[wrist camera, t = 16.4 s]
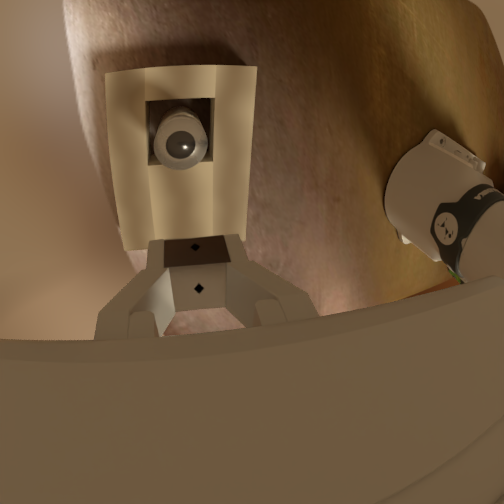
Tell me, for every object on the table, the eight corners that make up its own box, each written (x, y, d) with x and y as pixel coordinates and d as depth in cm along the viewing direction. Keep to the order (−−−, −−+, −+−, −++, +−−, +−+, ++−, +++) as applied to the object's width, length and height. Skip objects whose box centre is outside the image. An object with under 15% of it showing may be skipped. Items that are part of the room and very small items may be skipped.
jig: (248, 66, 24) (257, 66, 22) (238, 224, 35) (245, 240, 32) (113, 72, 21) (104, 73, 19) (128, 233, 32) (124, 251, 29)
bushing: (200, 105, 26) (208, 117, 19) (199, 143, 28) (207, 168, 22) (159, 107, 25) (152, 120, 19) (160, 145, 27) (155, 172, 21)
